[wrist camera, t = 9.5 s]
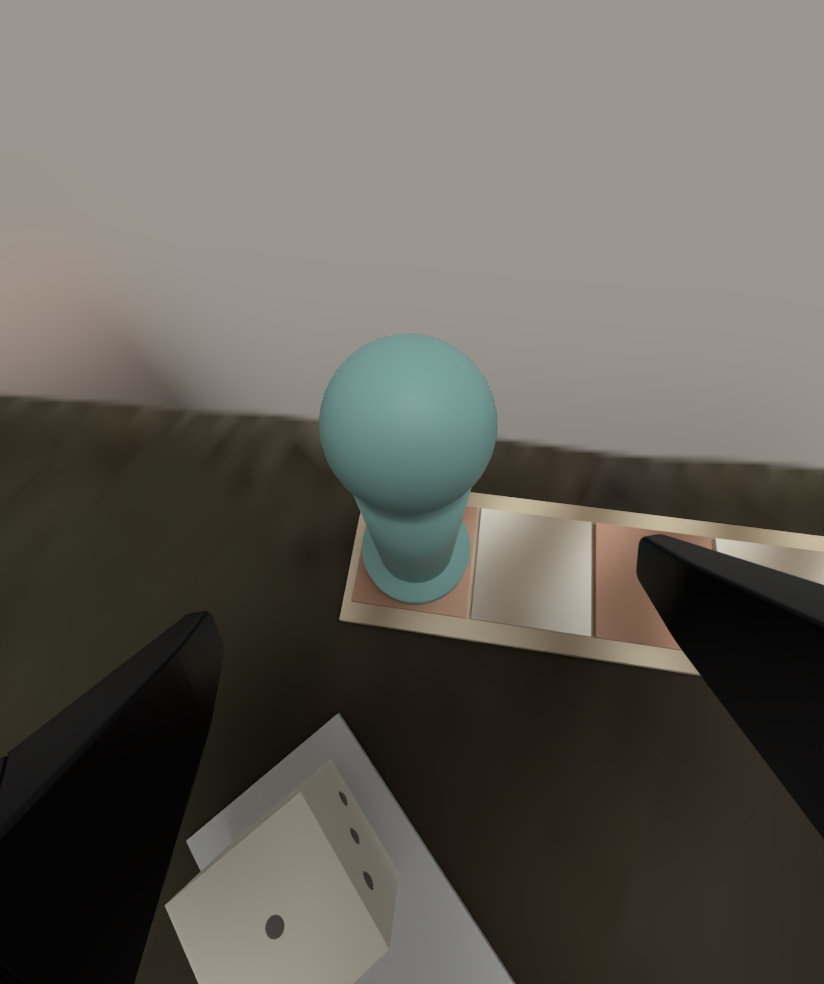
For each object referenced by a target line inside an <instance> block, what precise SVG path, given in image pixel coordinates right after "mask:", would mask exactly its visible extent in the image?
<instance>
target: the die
mask: <svg viewBox="0 0 824 984" xmlns="http://www.w3.org/2000/svg"><path fill="white" fill-rule="evenodd" d="M398 877H399V872H398V870H397V868H396V867H395V865H394V863H393V862H392V860H391V858H390V857H389V855H388V853H387V852H386V850H385V848H384V847H383V845H382V843H381V842H380V840H379V838H378V837H377V835H376V833H375V832H374V830H373V828H372V827H371V825H370V823H369V822H368V820H367V818H366V817H365V815H364V813H363V812H362V810H361V808H360V807H359V805H358V803H357V802H356V800H355V798H354V797H353V795H352V793H351V792H350V790H349V788H348V787H347V785H346V783H345V782H344V780H343V778H342V777H341V775H340V773H339V772H338V770H337V768H336V767H335V765H334V763H333V762H332V760H329V761H328V762H327V763H326V764H325V765H323V766H322V767H321V768H320V769H319V770H317V771H316V772H315V773H314V774H313V775H311V776H310V777H309V778H308V779H307V780H305V781H304V782H303V783H302V784H301V785H299V786H298V787H297V788H296V789H295V790H294V791H292V792H291V793H290V794H289V795H288V796H286V797H285V798H284V799H283V800H282V801H280V802H279V803H278V804H277V805H276V806H274V807H273V808H272V809H271V810H270V811H268V812H267V813H266V814H265V815H264V816H262V817H261V818H260V819H259V820H258V821H256V822H255V823H254V824H253V825H252V826H250V827H249V828H248V829H247V830H246V831H244V832H243V833H242V834H241V835H240V836H238V837H237V838H236V839H235V840H234V841H232V842H231V843H230V844H229V845H228V846H227V847H226V848H225V849H224V850H223V851H222V852H221V853H220V854H219V855H218V856H217V857H215V858H214V859H213V860H212V861H211V862H210V863H209V864H208V865H207V866H206V867H205V868H204V869H203V870H202V871H201V872H200V873H199V874H198V875H196V876H195V877H194V878H193V879H192V880H191V881H190V882H189V883H188V884H187V885H186V886H185V887H184V888H183V889H182V890H181V891H180V892H179V893H178V894H176V895H175V896H174V897H173V898H172V899H171V900H170V901H169V902H168V903H167V904H166V905H165V907H166V910H167V912H168V914H169V917H170V919H171V921H172V923H173V926H174V928H175V930H176V933H177V935H178V937H179V940H180V942H181V944H182V947H183V949H184V951H185V954H186V956H187V958H188V961H189V963H190V965H191V968H192V970H193V972H194V974H195V977H196V979H197V981H198V984H354V983H355V982H356V981H357V980H358V979H359V978H360V977H361V976H362V975H363V974H364V973H365V972H366V971H367V970H368V969H369V968H370V967H371V966H372V965H373V964H375V963H376V962H377V961H378V960H379V959H380V958H381V957H382V956H383V955H384V954H385V953H386V952H387V951H388V950H389V948H390V940H391V932H392V924H393V916H394V909H395V901H396V893H397V885H398Z"/></svg>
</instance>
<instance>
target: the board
mask: <svg viewBox="0 0 824 984" xmlns="http://www.w3.org/2000/svg"><path fill="white" fill-rule="evenodd" d="M462 521H463V522H464V524H465V526H466V529H467V531H468V535H469V539H470V557H469V561H468V565H467V567H466V570H465V572H464V574H463V576H462V578H461V580H460V581H459V583H458V584H457V585H456V587H455V588H454V589H453V590H452V591H451V592H450V593H448V594H447V595H446V596H444V597H443V598H441V599H439V600H437V601H434V602H431V603H427V604H420V605H411V604H405V603H402V602H398V601H396V600H394V599H392V598H390V597H389V596H387V595H386V594H384V593H383V592H382V591H381V590H380V589H379V588H378V587H377V586H376V584H375V583H374V581H373V580H372V578H371V577H370V575H369V574H368V572H367V570H366V567H365V564H364V561H363V556H362V540H363V536H364V532H365V529H366V527H367V525H366V523H365V521H364V519H363V516H362V514H361V512H360V517H359V522H358V527H357V532H356V538H355V543H354V548H353V553H352V558H351V563H350V568H349V573H348V578H347V583H346V588H345V593H344V598H343V604H342V609H341V614H340V619H339V620H341V621H344V622H349V623H355V624H362V625H368V626H375V627H382V628H388V629H395V630H401V631H408V632H414V633H421V634H427V635H434V636H441V637H447V638H454V639H460V640H467V641H473V642H480V643H486V644H493V645H500V646H506V647H513V648H519V649H526V650H532V651H539V652H546V653H552V654H559V655H565V656H572V657H578V658H585V659H591V660H598V661H605V662H611V663H618V664H624V665H631V666H637V667H644V668H650V669H657V670H664V671H670V672H677V673H683V674H690V675H696V676H701V675H700V674H699V673H698V671H697V670H696V669H695V667H694V666H693V665H692V663H691V662H690V661H689V659H688V658H687V657H686V655H685V654H684V653H683V651H682V650H681V648H680V647H679V646H678V644H677V643H676V641H675V640H674V638H673V637H672V635H671V634H670V632H669V630H668V629H667V627H666V625H665V624H664V622H663V620H662V619H661V617H660V615H659V614H658V612H657V610H656V609H655V607H654V605H653V604H652V602H651V600H650V599H649V597H648V595H647V594H646V592H645V590H644V589H643V587H642V585H641V584H640V582H639V580H638V578H637V574H636V564H637V554H638V544H639V541H640V539H641V538H642V537H644V536H650V535H656V534H664V535H667V536H670V537H673V538H676V539H680V540H683V541H686V542H689V543H692V544H695V545H699V546H702V547H705V548H708V549H711V550H715V551H718V552H721V553H724V554H727V555H730V556H734V557H737V558H740V559H743V560H746V561H750V562H753V563H756V564H759V565H762V566H765V567H769V568H772V569H775V570H778V571H781V572H785V573H788V574H791V575H794V576H797V577H800V578H804V579H807V580H810V581H813V582H816V583H820V584H823V585H824V537H823V536H815V535H807V534H799V533H791V532H783V531H775V530H767V529H759V528H752V527H744V526H736V525H728V524H720V523H712V522H704V521H696V520H688V519H680V518H672V517H664V516H656V515H648V514H640V513H632V512H624V511H616V510H608V509H600V508H592V507H584V506H576V505H568V504H560V503H552V502H544V501H536V500H528V499H520V498H512V497H504V496H496V495H488V494H480V493H473V492H470V495H469V498H468V502H467V505H466V509H465V512H464V515H463V519H462Z"/></svg>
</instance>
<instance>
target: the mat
mask: <svg viewBox="0 0 824 984" xmlns="http://www.w3.org/2000/svg"><path fill="white" fill-rule="evenodd" d="M329 760H332V762H333V763H334V765H335V767H336V768H337V770H338V772H339V773H340V775H341V777H342V778H343V780H344V782H345V783H346V785H347V787H348V788H349V790H350V792H351V793H352V795H353V797H354V798H355V800H356V802H357V803H358V805H359V807H360V808H361V810H362V812H363V813H364V815H365V817H366V818H367V820H368V822H369V823H370V825H371V827H372V828H373V830H374V832H375V833H376V835H377V837H378V838H379V840H380V842H381V843H382V845H383V847H384V848H385V850H386V852H387V853H388V855H389V857H390V858H391V860H392V862H393V863H394V865H395V867H396V868H397V870H398V872H399V877H398V885H397V893H396V901H395V909H394V916H393V924H392V932H391V940H390V948H389V950H388V951H387V952H386V953H385V954H384V955H383V956H382V957H381V958H380V959H379V960H378V961H377V962H376V963H375V964H373V965H372V966H371V967H370V968H369V969H368V970H367V971H366V972H365V973H364V974H363V975H362V976H361V977H360V978H359V979H358V980H357V981H356V982H355V983H354V984H515V982H514V981H513V979H512V977H511V976H510V974H509V973H508V971H507V970H506V968H505V967H504V965H503V964H502V962H501V961H500V959H499V957H498V956H497V954H496V953H495V951H494V950H493V948H492V947H491V945H490V944H489V942H488V941H487V939H486V937H485V936H484V934H483V933H482V931H481V930H480V928H479V927H478V925H477V924H476V922H475V921H474V919H473V917H472V916H471V914H470V913H469V911H468V910H467V908H466V907H465V905H464V904H463V902H462V901H461V899H460V897H459V896H458V894H457V893H456V891H455V890H454V888H453V887H452V885H451V884H450V882H449V881H448V879H447V877H446V876H445V874H444V873H443V871H442V870H441V868H440V867H439V865H438V864H437V862H436V861H435V859H434V857H433V856H432V854H431V853H430V851H429V850H428V848H427V847H426V845H425V844H424V842H423V841H422V839H421V837H420V836H419V834H418V833H417V831H416V830H415V828H414V827H413V825H412V824H411V822H410V821H409V819H408V817H407V816H406V814H405V813H404V811H403V810H402V808H401V807H400V805H399V804H398V802H397V801H396V799H395V797H394V796H393V794H392V793H391V791H390V790H389V788H388V787H387V785H386V784H385V782H384V781H383V779H382V777H381V776H380V774H379V773H378V771H377V770H376V768H375V767H374V765H373V764H372V762H371V761H370V759H369V757H368V756H367V754H366V753H365V751H364V750H363V748H362V747H361V745H360V744H359V742H358V741H357V739H356V737H355V736H354V734H353V733H352V731H351V730H350V728H349V727H348V725H347V724H346V722H345V721H344V719H343V717H342V716H341V714H340V713H338V714H337V715H336V716H334V717H333V718H332V719H331V720H330V721H328V722H327V723H326V724H325V725H324V726H322V727H321V728H320V729H319V730H318V731H316V732H315V733H314V734H313V735H312V736H311V737H309V738H308V739H307V740H306V741H305V742H303V743H302V744H301V745H300V746H299V747H297V748H296V749H295V750H294V751H293V752H291V753H290V754H289V755H288V756H287V757H285V758H284V759H283V760H282V761H281V762H280V763H278V764H277V765H276V766H275V767H274V768H272V769H271V770H270V771H269V772H268V773H266V774H265V775H264V776H263V777H262V778H260V779H259V780H258V781H257V782H256V783H254V784H253V785H252V786H251V787H250V788H249V789H247V790H246V791H245V792H244V793H243V794H241V795H240V796H239V797H238V798H237V799H235V800H234V801H233V802H232V803H231V804H229V805H228V806H227V807H226V808H225V809H224V810H222V811H221V812H220V813H219V814H218V815H216V816H215V817H214V818H213V819H212V820H210V821H209V822H208V823H207V824H206V825H204V826H203V827H202V828H201V829H200V830H198V831H197V832H196V833H195V834H194V835H193V836H191V837H190V838H189V839H188V840H187V841H186V842H187V844H188V846H189V848H190V850H191V852H192V854H193V857H194V859H195V861H196V863H197V865H198V867H199V869H200V871H202V870H203V869H204V868H205V867H206V866H207V865H208V864H209V863H210V862H211V861H212V860H213V859H214V858H215V857H217V856H218V855H219V854H220V853H221V852H222V851H223V850H224V849H225V848H226V847H227V846H228V845H229V844H230V843H231V842H232V841H234V840H235V839H236V838H237V837H238V836H240V835H241V834H242V833H243V832H244V831H246V830H247V829H248V828H249V827H250V826H252V825H253V824H254V823H255V822H256V821H258V820H259V819H260V818H261V817H262V816H264V815H265V814H266V813H267V812H268V811H270V810H271V809H272V808H273V807H274V806H276V805H277V804H278V803H279V802H280V801H282V800H283V799H284V798H285V797H286V796H288V795H289V794H290V793H291V792H292V791H294V790H295V789H296V788H297V787H298V786H299V785H301V784H302V783H303V782H304V781H305V780H307V779H308V778H309V777H310V776H311V775H313V774H314V773H315V772H316V771H317V770H319V769H320V768H321V767H322V766H323V765H325V764H326V763H327V762H328V761H329Z"/></svg>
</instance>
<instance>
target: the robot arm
mask: <svg viewBox="0 0 824 984" xmlns="http://www.w3.org/2000/svg"><path fill="white" fill-rule="evenodd" d="M636 574H637V578H638V580H639V582H640V584H641V585H642V587H643V589H644V590H645V592H646V594H647V595H648V597H649V599H650V600H651V602H652V604H653V605H654V607H655V609H656V610H657V612H658V614H659V615H660V617H661V619H662V620H663V622H664V624H665V625H666V627H667V629H668V630H669V632H670V634H671V635H672V637H673V638H674V640H675V641H676V643H677V644H678V646H679V647H680V648H681V650H682V651H683V653H684V654H685V655H686V657H687V658H688V659H689V661H690V662H691V663H692V665H693V666H694V667H695V669H696V670H697V671H698V673H699V674H700V675H701V677H702V678H703V679H704V681H705V682H706V683H707V685H708V686H709V687H710V689H711V690H712V691H713V693H714V694H715V695H716V696H717V698H718V699H719V700H720V702H721V703H722V704H723V706H724V707H725V708H726V710H727V711H728V712H729V714H730V715H731V716H732V718H733V719H734V720H735V722H736V723H737V724H738V726H739V727H740V728H741V730H742V731H743V732H744V734H745V735H746V736H747V738H748V739H749V740H750V742H751V743H752V744H753V746H754V747H755V748H756V750H757V751H758V752H759V754H760V755H761V756H762V758H763V759H764V760H765V762H766V763H767V764H768V766H769V767H770V768H771V770H772V771H773V772H774V774H775V775H776V776H777V778H778V779H779V780H780V782H781V783H782V784H783V786H784V787H785V788H786V790H787V791H788V792H789V794H790V795H791V796H792V798H793V799H794V800H795V802H796V803H797V804H798V806H799V807H800V808H801V810H802V811H803V812H804V814H805V815H806V816H807V818H808V819H809V820H810V822H811V823H812V824H813V826H814V827H815V828H816V830H817V831H818V832H819V834H820V835H821V836H822V838H823V839H824V585H823V584H820V583H816V582H813V581H810V580H807V579H804V578H800V577H797V576H794V575H791V574H788V573H785V572H781V571H778V570H775V569H772V568H769V567H765V566H762V565H759V564H756V563H753V562H750V561H746V560H743V559H740V558H737V557H734V556H730V555H727V554H724V553H721V552H718V551H715V550H711V549H708V548H705V547H702V546H699V545H695V544H692V543H689V542H686V541H683V540H680V539H676V538H673V537H670V536H667V535H664V534H656V535H650V536H644V537H642V538H641V539H640V541H639V544H638V554H637V564H636ZM223 655H224V643H223V640H222V637H221V635H220V632H219V630H218V628H217V625H216V623H215V621H214V618H213V616H212V614H211V613H210V612H208V611H202V612H196V613H190V614H187V615H186V616H184V617H183V618H182V619H180V620H179V621H178V622H176V623H175V624H174V625H173V626H171V627H170V628H169V629H167V630H166V631H165V632H164V633H162V634H161V635H160V636H158V637H157V638H156V639H154V640H153V641H152V642H151V643H149V644H148V645H147V646H145V647H144V648H143V649H142V650H140V651H139V652H138V653H136V654H135V655H134V656H133V657H131V658H130V659H129V660H127V661H126V662H125V663H124V664H122V665H121V666H120V667H118V668H117V669H116V670H114V671H113V672H112V673H111V674H109V675H108V676H107V677H105V678H104V679H103V680H102V681H100V682H99V683H98V684H96V685H95V686H94V687H93V688H91V689H90V690H89V691H87V692H86V693H85V694H84V695H82V696H81V697H80V698H78V699H77V700H76V701H74V702H73V703H72V704H71V705H69V706H68V707H67V708H65V709H64V710H63V711H62V712H60V713H59V714H58V715H56V716H55V717H54V718H53V719H51V720H50V721H49V722H47V723H46V724H45V725H44V726H42V727H41V728H40V729H38V730H37V731H36V732H34V733H33V734H32V735H31V736H29V737H28V738H27V739H25V740H24V741H23V742H22V743H20V744H19V745H18V746H16V747H15V748H14V749H13V750H11V751H10V752H9V753H8V756H7V757H6V756H4V757H2V758H1V759H0V984H135V982H136V979H137V975H138V972H139V969H140V965H141V962H142V958H143V955H144V952H145V948H146V945H147V941H148V938H149V934H150V931H151V928H152V924H153V921H154V917H155V914H156V911H157V907H158V904H159V900H160V897H161V894H162V890H163V887H164V883H165V880H166V876H167V873H168V870H169V866H170V863H171V859H172V856H173V853H174V849H175V846H176V842H177V839H178V836H179V832H180V829H181V825H182V822H183V818H184V815H185V812H186V808H187V805H188V801H189V798H190V795H191V791H192V788H193V784H194V781H195V777H196V774H197V771H198V767H199V764H200V760H201V757H202V754H203V750H204V747H205V743H206V740H207V736H208V733H209V729H210V725H211V721H212V716H213V711H214V705H215V700H216V694H217V689H218V683H219V677H220V672H221V666H222V661H223Z"/></svg>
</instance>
